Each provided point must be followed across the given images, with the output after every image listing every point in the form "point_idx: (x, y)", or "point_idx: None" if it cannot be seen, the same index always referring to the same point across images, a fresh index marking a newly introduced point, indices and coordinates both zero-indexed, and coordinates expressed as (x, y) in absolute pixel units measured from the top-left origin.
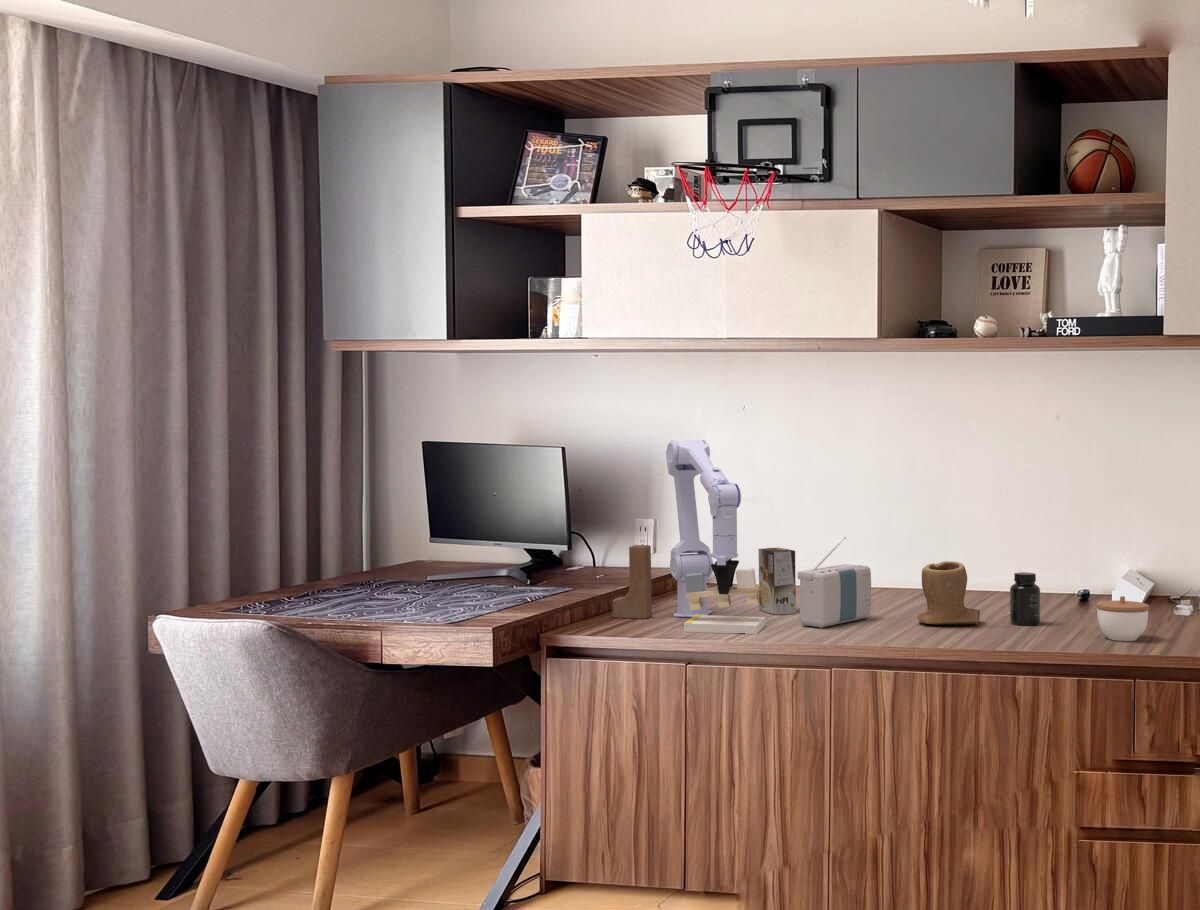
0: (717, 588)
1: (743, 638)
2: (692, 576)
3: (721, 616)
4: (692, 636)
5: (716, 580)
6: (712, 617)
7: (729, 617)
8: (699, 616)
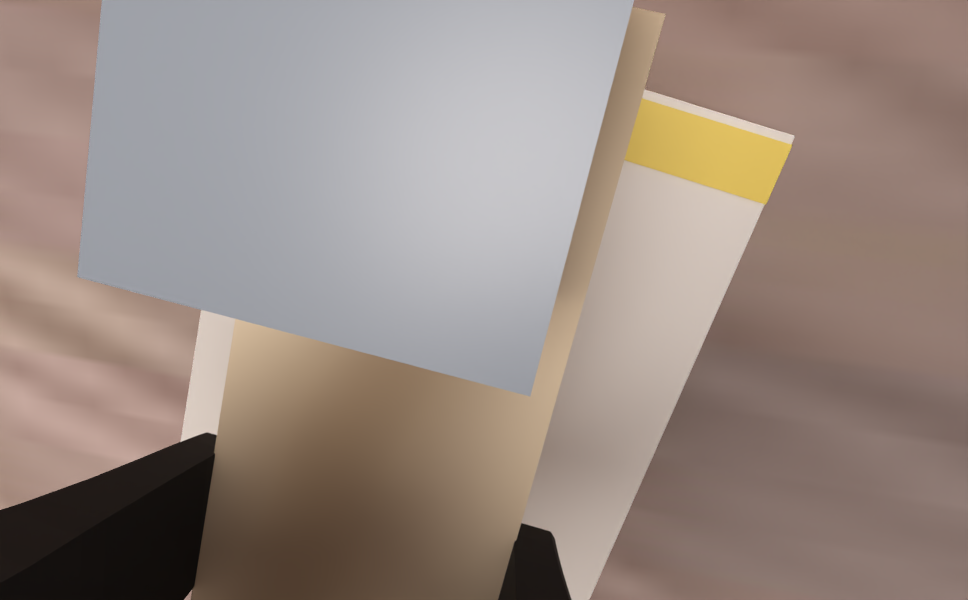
0: (483, 478)
1: (50, 398)
2: (117, 19)
3: (638, 374)
4: (85, 47)
5: (15, 507)
6: (592, 286)
7: (568, 430)
8: (647, 165)
